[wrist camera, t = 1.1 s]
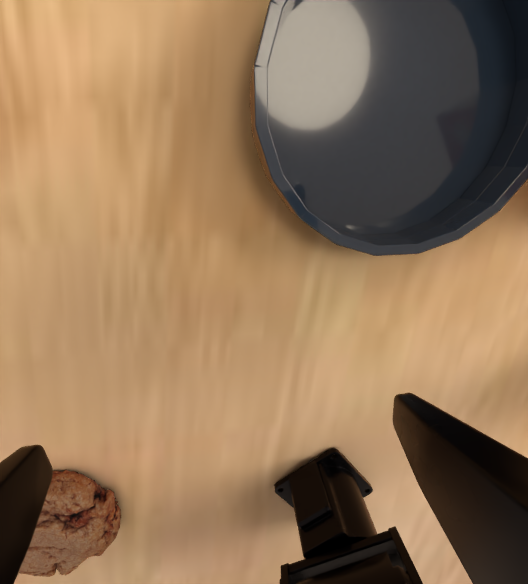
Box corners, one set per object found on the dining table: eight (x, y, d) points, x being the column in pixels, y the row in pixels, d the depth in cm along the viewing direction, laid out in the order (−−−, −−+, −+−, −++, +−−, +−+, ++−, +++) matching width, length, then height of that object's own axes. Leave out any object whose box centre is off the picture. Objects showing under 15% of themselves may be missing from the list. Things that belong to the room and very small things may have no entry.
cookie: (-21, 538, 28) (-49, 580, 25) (12, 449, 25) (-15, 486, 22) (98, 562, 30) (85, 603, 28) (141, 484, 27) (131, 521, 25)
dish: (551, 137, 20) (612, 133, 17) (343, 285, 22) (362, 307, 19) (448, -163, 15) (509, -252, 12) (190, 72, 17) (181, 52, 14)
